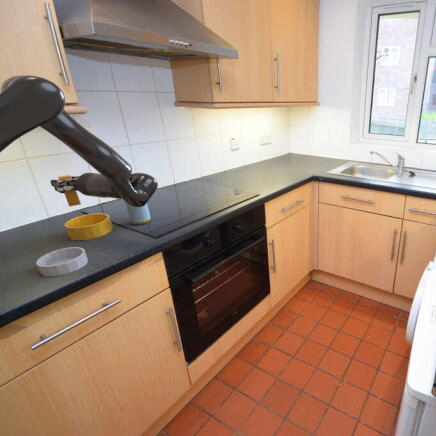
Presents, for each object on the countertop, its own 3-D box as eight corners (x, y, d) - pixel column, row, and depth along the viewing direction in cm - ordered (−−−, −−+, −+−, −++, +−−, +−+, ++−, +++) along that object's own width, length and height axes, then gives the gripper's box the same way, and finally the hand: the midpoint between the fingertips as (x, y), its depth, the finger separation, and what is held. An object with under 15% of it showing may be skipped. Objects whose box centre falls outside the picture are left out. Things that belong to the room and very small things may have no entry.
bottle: (143, 217, 125) (134, 183, 119) (154, 220, 122) (146, 185, 116) (127, 223, 119) (117, 187, 113) (138, 226, 116) (128, 190, 110)
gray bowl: (65, 278, 85) (61, 267, 83) (30, 275, 86) (25, 265, 84) (97, 257, 95) (93, 248, 94) (65, 255, 96) (61, 246, 95)
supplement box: (80, 202, 104) (70, 174, 100) (81, 204, 101) (71, 176, 97) (68, 204, 102) (57, 176, 98) (68, 207, 99) (58, 178, 95)
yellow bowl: (93, 241, 105) (89, 228, 103) (59, 239, 106) (54, 226, 104) (121, 225, 117) (117, 214, 115) (90, 224, 118) (86, 212, 116)
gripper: (116, 168, 99) (78, 165, 104) (72, 180, 87) (30, 175, 91) (122, 189, 102) (85, 185, 107) (80, 203, 90) (40, 198, 94)
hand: (60, 181), depth 99 cm, fingers closed on supplement box, 4 cm apart
